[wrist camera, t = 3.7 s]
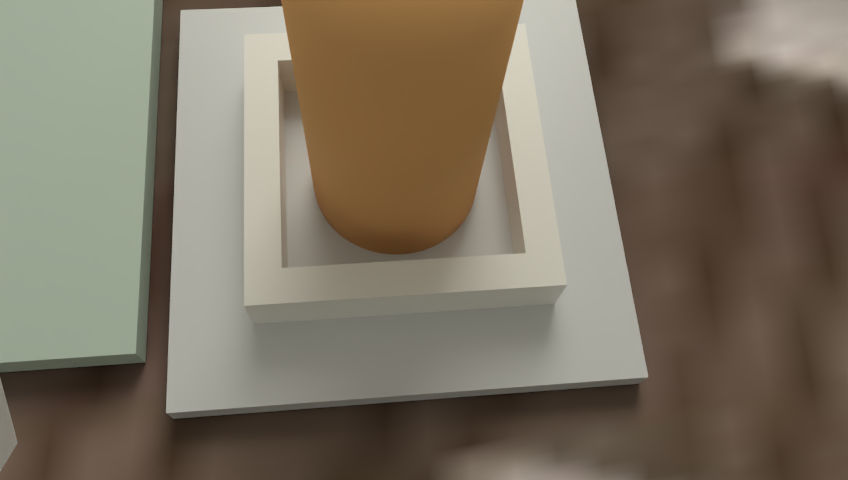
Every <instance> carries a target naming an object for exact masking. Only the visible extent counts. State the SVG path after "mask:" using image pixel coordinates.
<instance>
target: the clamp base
mask: <svg viewBox="0 0 848 480" xmlns="http://www.w3.org/2000/svg"><path fill="white" fill-rule="evenodd" d="M647 378H648V373H647V368H646V363H645V358H644V352H643V347H642V342H641V337H640V332H639V327H638V321H637V316H636V311H635V306H634V301H633V296H632V290H631V285H630V280H629V275H628V270H627V264H626V259H625V254H624V249H623V244H622V239H621V233H620V228H619V223H618V218H617V213H616V207H615V202H614V197H613V192H612V187H611V182H610V176H609V171H608V166H607V161H606V156H605V150H604V145H603V140H602V135H601V130H600V125H599V119H598V114H597V109H596V104H595V99H594V93H593V88H592V83H591V78H590V73H589V68H588V62H587V57H586V52H585V47H584V42H583V37H582V31H581V26H580V21H579V16H578V11H577V5H576V0H524V2H523V6H522V10H521V14H520V18H519V22H518V26H517V30H516V34H515V38H514V42H513V46H512V50H511V54H510V58H509V62H508V66H507V70H506V74H505V78H504V82H503V86H502V90H501V94H500V98H499V102H498V106H497V110H496V114H495V118H494V122H493V126H492V130H491V134H490V138H489V142H488V146H487V150H486V154H485V158H484V162H483V166H482V170H481V174H480V178H479V182H478V186H477V190H476V194H475V198H474V203H473V205H472V208H471V210H470V212H469V214H468V216H467V217H466V219H465V221H464V222H463V223H462V224H461V226H460V227H459V228H458V229H457V230H456V231H455V232H454V233H453V234H452V235H451V236H449V237H448V238H447V239H445V240H444V241H443V242H441V243H439V244H437V245H435V246H433V247H431V248H428V249H426V250H423V251H419V252H415V253H409V254H383V253H377V252H373V251H369V250H366V249H364V248H361V247H359V246H357V245H355V244H353V243H351V242H349V241H348V240H346V239H345V238H344V237H342V236H341V235H340V234H339V233H338V232H336V231H335V230H334V229H333V228H332V226H331V225H330V224H329V223H328V222H327V220H326V219H325V217H324V215H323V214H322V212H321V210H320V208H319V205H318V203H317V200H316V196H315V192H314V186H313V180H312V174H311V169H310V163H309V157H308V151H307V146H306V140H305V134H304V128H303V123H302V117H301V111H300V105H299V100H298V94H297V88H296V82H295V77H294V71H293V65H292V59H291V54H290V48H289V42H288V36H287V31H286V25H285V19H284V13H283V8H282V7H258V8H231V9H203V10H181V19H180V46H179V73H178V101H177V128H176V155H175V182H174V209H173V236H172V263H171V291H170V318H169V345H168V372H167V399H166V414H168V415H169V416H170V417H172V418H173V419H177V418H191V417H204V416H217V415H230V414H244V413H257V412H270V411H284V410H297V409H310V408H323V407H337V406H350V405H363V404H377V403H390V402H403V401H416V400H430V399H443V398H456V397H470V396H483V395H496V394H509V393H523V392H536V391H549V390H562V389H576V388H589V387H602V386H616V385H629V384H640V383H641V382H643V381H644V380H645V379H647Z"/></svg>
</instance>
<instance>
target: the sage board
mask: <svg viewBox="0 0 848 480" xmlns="http://www.w3.org/2000/svg"><path fill="white" fill-rule="evenodd" d="M162 7H163V0H0V372H14V371H29V370H43V369H57V368H72V367H86V366H101V365H115V364H129V363H144V362H146V343H147V322H148V301H149V280H150V259H151V238H152V217H153V196H154V175H155V154H156V133H157V112H158V91H159V70H160V49H161V28H162Z"/></svg>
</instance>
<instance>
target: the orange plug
mask: <svg viewBox="0 0 848 480" xmlns="http://www.w3.org/2000/svg"><path fill="white" fill-rule="evenodd" d="M281 2H282V8H283V13H284V19H285V25H286V31H287V36H288V42H289V48H290V54H291V59H292V65H293V71H294V77H295V82H296V88H297V94H298V100H299V105H300V111H301V117H302V123H303V128H304V134H305V140H306V146H307V151H308V157H309V163H310V169H311V174H312V180H313V186H314V192H315V196H316V200H317V203H318V205H319V208H320V210H321V212H322V214H323V215H324V217H325V219H326V220H327V222H328V223H329V224H330V225H331V226H332V228H333V229H334V230H335V231H336V232H338V233H339V234H340V235H341V236H342V237H344V238H345V239H346V240H348V241H349V242H351V243H353V244H355V245H357V246H359V247H361V248H364V249H366V250H369V251H373V252H377V253H383V254H409V253H415V252H419V251H423V250H426V249H428V248H431V247H433V246H435V245H437V244H439V243H441V242H443V241H444V240H445V239H447V238H448V237H449V236H451V235H452V234H453V233H454V232H455V231H456V230H457V229H458V228H459V227H460V226H461V224H462V223H463V222H464V221H465V219H466V217H467V216H468V214H469V212H470V210H471V208H472V205H473V203H474V198H475V194H476V190H477V186H478V182H479V178H480V174H481V170H482V166H483V162H484V158H485V154H486V150H487V146H488V142H489V138H490V134H491V130H492V126H493V122H494V118H495V114H496V110H497V106H498V102H499V98H500V94H501V90H502V86H503V82H504V78H505V74H506V70H507V66H508V62H509V58H510V54H511V50H512V46H513V42H514V38H515V34H516V30H517V26H518V22H519V18H520V14H521V10H522V6H523V2H524V0H281Z"/></svg>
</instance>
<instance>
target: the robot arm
mask: <svg viewBox="0 0 848 480" xmlns="http://www.w3.org/2000/svg"><path fill="white" fill-rule="evenodd" d="M17 443H18V442H17V439H16V435H15V431H14V427H13V424H12V420H11V416H10V412H9V409H8V405H7V401H6V397H5V394H4V390H3V386H2V382H1V379H0V471H1V470H2V468H3V466H4V465H5V463H6V461H7V460H8V458H9V456H10V455H11V453H12V451H13V450H14V448H15V446H16V444H17Z"/></svg>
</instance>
